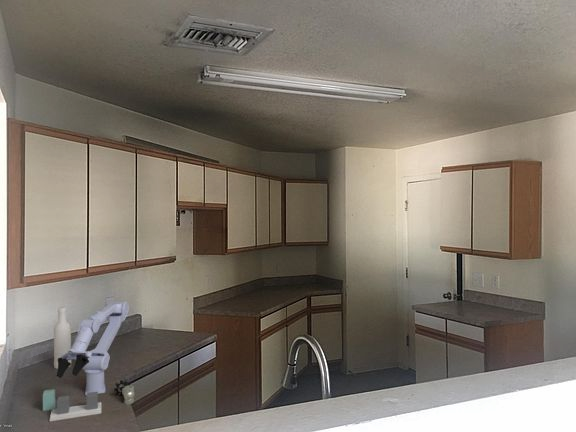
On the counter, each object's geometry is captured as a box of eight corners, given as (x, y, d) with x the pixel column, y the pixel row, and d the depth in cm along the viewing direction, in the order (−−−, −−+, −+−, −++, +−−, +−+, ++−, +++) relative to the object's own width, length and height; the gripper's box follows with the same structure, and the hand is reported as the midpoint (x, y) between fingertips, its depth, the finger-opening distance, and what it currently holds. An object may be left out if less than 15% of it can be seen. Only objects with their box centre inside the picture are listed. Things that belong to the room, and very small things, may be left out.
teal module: (44, 406, 185) (44, 390, 185) (55, 404, 186) (55, 389, 186) (42, 411, 181) (42, 394, 181) (54, 409, 182) (54, 393, 182)
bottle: (74, 363, 236) (73, 306, 236) (67, 369, 228) (66, 309, 228) (58, 364, 236) (57, 306, 236) (51, 369, 228) (50, 309, 228)
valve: (138, 402, 189) (128, 393, 198) (138, 386, 189) (128, 378, 198) (122, 406, 185) (113, 397, 194) (122, 390, 185) (113, 381, 194)
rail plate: (52, 411, 180) (52, 395, 180) (101, 404, 187) (101, 388, 187) (49, 421, 172) (49, 404, 172) (101, 413, 178) (101, 397, 178)
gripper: (60, 342, 188) (45, 372, 178) (88, 337, 184) (74, 368, 174) (71, 351, 193) (57, 381, 183) (99, 346, 188) (86, 377, 178)
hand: (66, 375), depth 179 cm, fingers open, 7 cm apart
